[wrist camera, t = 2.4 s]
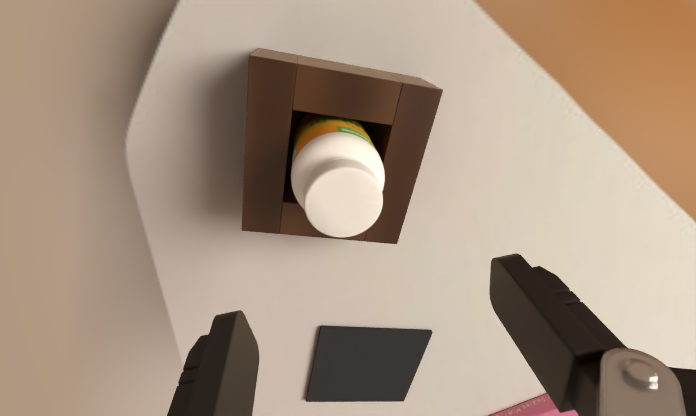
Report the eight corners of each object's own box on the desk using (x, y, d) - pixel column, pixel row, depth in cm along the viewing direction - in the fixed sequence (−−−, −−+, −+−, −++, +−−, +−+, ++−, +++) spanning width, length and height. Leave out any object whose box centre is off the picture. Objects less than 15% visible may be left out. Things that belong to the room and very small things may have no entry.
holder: (250, 199, 27) (241, 230, 23) (258, 47, 22) (249, 54, 18) (384, 213, 29) (397, 244, 25) (420, 77, 24) (443, 89, 20)
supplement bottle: (369, 106, 25) (404, 154, 16) (363, 176, 27) (390, 248, 19) (292, 104, 24) (287, 152, 15) (294, 175, 26) (290, 250, 18)
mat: (305, 398, 40) (305, 401, 40) (320, 325, 35) (320, 328, 34) (403, 398, 42) (403, 401, 42) (431, 329, 37) (432, 332, 37)
